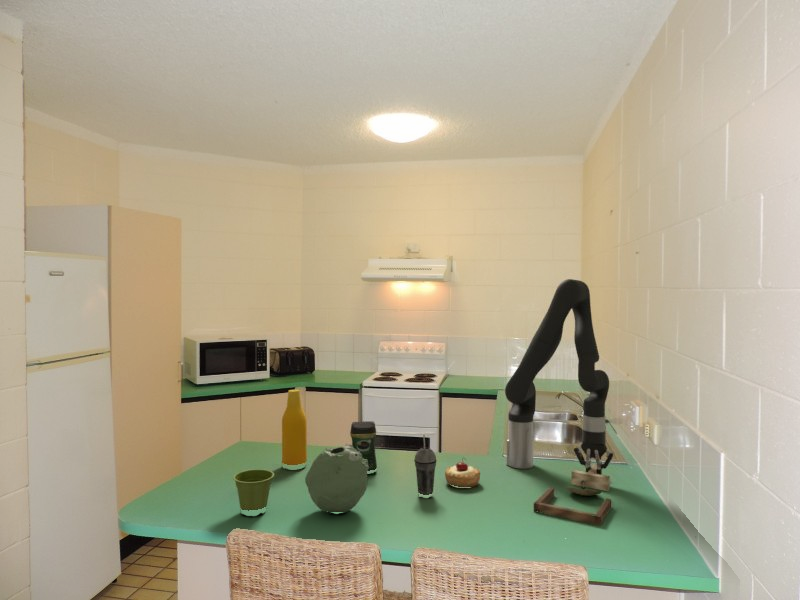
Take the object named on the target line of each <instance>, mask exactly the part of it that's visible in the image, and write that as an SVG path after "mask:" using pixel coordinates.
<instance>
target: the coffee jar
mask: <svg viewBox="0 0 800 600" xmlns="http://www.w3.org/2000/svg"><path fill="white" fill-rule="evenodd" d="M349 434H350V435H349V436H350V438H351V445H353V448H354V449H356V450H357V451H360V453H361V454H362V458H364V459H367V460H368V466H369V469H368V471H370V470H375V469H376V468H377V469H378V464H377V457H376V456H377V455H376V445H375V444H376V443H375V438H376V436H377V428H376V423H375V421H370V420H369V421H366V420H365V421H353V422H352V423H351V426H350V432H349Z"/></svg>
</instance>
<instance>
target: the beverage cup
mask: <svg viewBox="0 0 800 600" xmlns="http://www.w3.org/2000/svg"><path fill="white" fill-rule="evenodd" d="M422 436H423V437H422V438H423V440H422V441H423V447H421V448H420V449H418V450H417V451H416V453H415V455H414V460H413V461H414V466H415V471H416V484H417V493H420V494H423V495H429V494H432V493H434V484H435V471H436V465H437V457H436V456H437V455H436V453H435V451H433V450H432V449H431V448H430V447H426V437H425V434H423V435H422Z"/></svg>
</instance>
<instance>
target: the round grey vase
mask: <svg viewBox="0 0 800 600" xmlns="http://www.w3.org/2000/svg"><path fill="white" fill-rule="evenodd" d="M368 469H369V466H368V460H367V459H364V458H362V454H361V453H360V451H357V450H356V449H354V448H353V445H352V443H346V444H345V445H343V446H342V445H341V446H337V447H331V448H328V447H325V449H324V450H323V451H321V452H320V453H319V454H318V455H317V456H316V458H315V459H314V460H313V461H312V464H311V465H310V468H309V470H308V472H307V473H306V476H305V478H304V480H305V481H304V483H305V485H306V487H307V490H308V494H309V496H310V499H311V501H312V503H314V505H315V506H317V508H318V509H320V510H321V511H323V512H325V511H328V512H345V513H347V512H349V511H351V510H352V509H353V508H355V507H356V506H357V504H358V503H359V501H360V500H361V498H363V496H364V494H365V493H366V491H367V487H368V475H367V471H368ZM350 509H351V510H350ZM348 510H349V511H348ZM346 511H347V512H346ZM328 512H327V513H328Z"/></svg>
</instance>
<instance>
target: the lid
mask: <svg viewBox="0 0 800 600" xmlns="http://www.w3.org/2000/svg"><path fill="white" fill-rule="evenodd" d="M583 482H584V480H582V481H581V486H580V487H581V488H575V487H570V486H567V487H566V489H567V490H568V491H570V492H572V493H574V494H577V495H580V496H585V497H586V496H587V497H588V496H590V497H591V496H594V495H595V496H596V495H600V494H601V493H602V491H601V490H592V489H586V487H583V486H582V483H583ZM584 483H585V482H584Z"/></svg>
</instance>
